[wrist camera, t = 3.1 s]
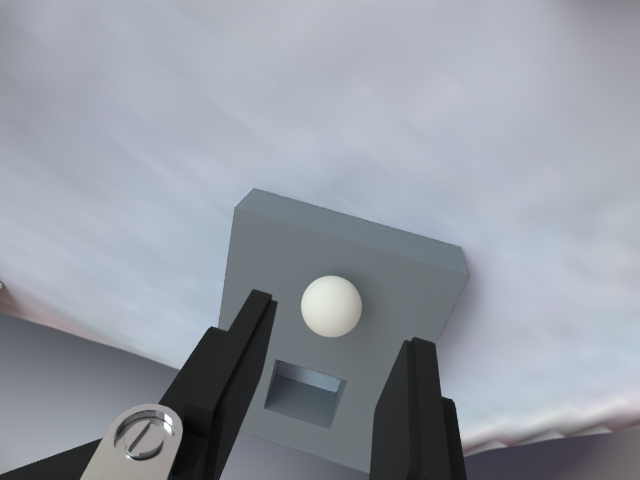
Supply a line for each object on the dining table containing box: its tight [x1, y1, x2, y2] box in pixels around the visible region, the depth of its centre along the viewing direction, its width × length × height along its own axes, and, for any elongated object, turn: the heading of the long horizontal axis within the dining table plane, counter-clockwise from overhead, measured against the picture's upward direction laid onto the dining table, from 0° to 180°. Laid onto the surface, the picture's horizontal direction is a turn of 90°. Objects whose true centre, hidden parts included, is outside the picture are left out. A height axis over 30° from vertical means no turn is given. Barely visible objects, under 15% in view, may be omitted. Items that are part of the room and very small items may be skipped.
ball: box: [301, 276, 362, 337], centre depth 27 cm, size 4×4×4 cm
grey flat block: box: [218, 189, 469, 473], centre depth 33 cm, size 22×16×4 cm
